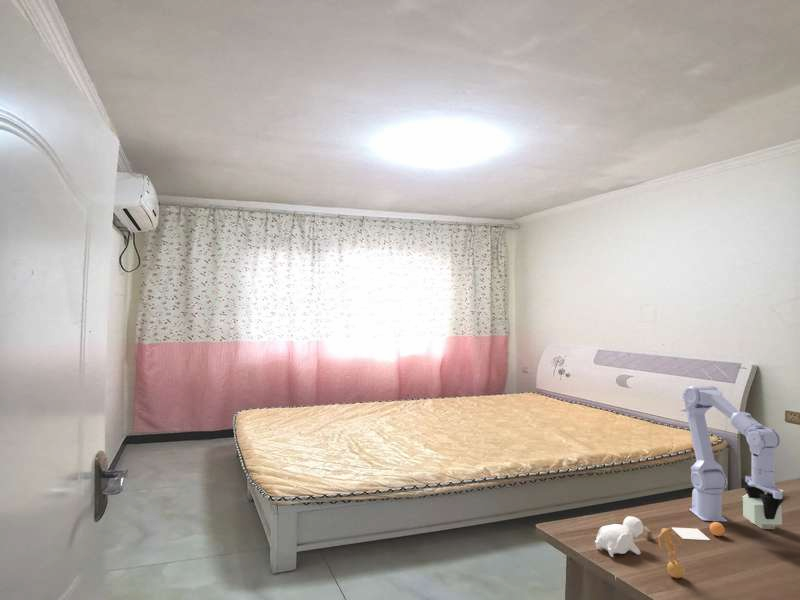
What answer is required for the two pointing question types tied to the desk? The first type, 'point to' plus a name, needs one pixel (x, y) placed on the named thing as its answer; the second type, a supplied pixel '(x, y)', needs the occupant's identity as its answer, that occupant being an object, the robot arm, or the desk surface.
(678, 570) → the figurine
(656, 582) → the desk surface
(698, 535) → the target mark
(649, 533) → the stopper
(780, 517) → the pale green block
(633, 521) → the white crawling baby figure
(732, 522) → the desk surface
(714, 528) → the ball
